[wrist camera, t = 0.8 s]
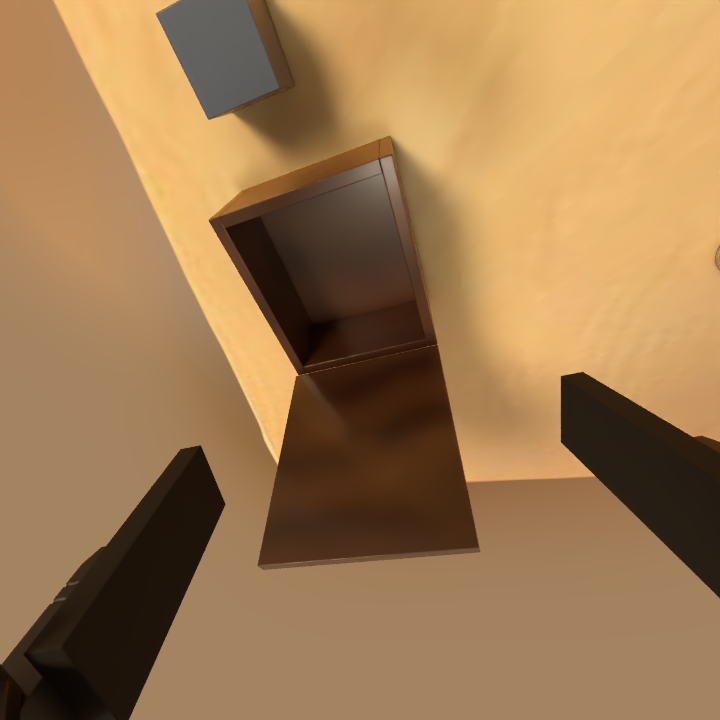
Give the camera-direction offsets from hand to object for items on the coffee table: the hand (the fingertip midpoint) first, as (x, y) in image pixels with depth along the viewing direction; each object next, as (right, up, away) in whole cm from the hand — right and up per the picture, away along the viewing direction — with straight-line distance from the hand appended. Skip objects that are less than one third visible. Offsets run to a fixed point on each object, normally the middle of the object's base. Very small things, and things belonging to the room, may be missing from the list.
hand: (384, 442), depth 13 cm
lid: (-1, -3, +14) cm, 14 cm away
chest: (-2, +14, +22) cm, 26 cm away
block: (-9, +25, +13) cm, 30 cm away
